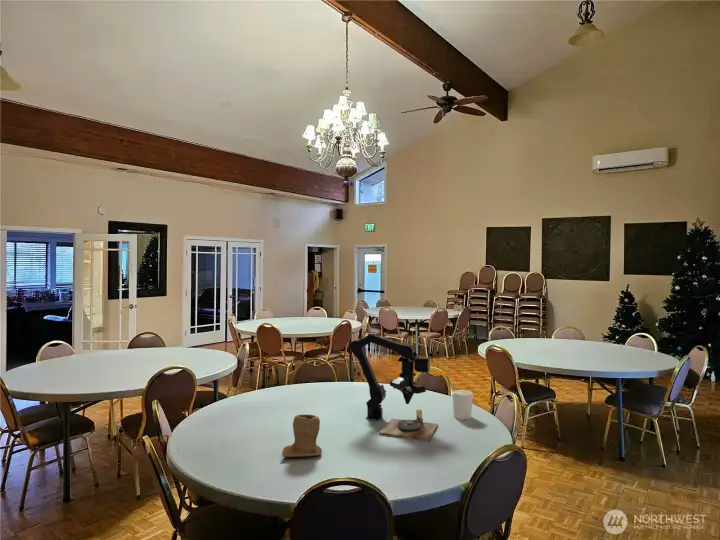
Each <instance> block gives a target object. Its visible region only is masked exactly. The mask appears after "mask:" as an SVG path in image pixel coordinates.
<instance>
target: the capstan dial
mask: <svg viewBox="0 0 720 540" xmlns="http://www.w3.org/2000/svg"><path fill="white" fill-rule="evenodd" d="M415 411H416V418H415V419H401V421H399V422H398V428H399V429H400V430H402V431H407V432H414V431H418V430H420V425H421V424H422V423H423V422H424V418H423V409H416V410H415Z"/></svg>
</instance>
